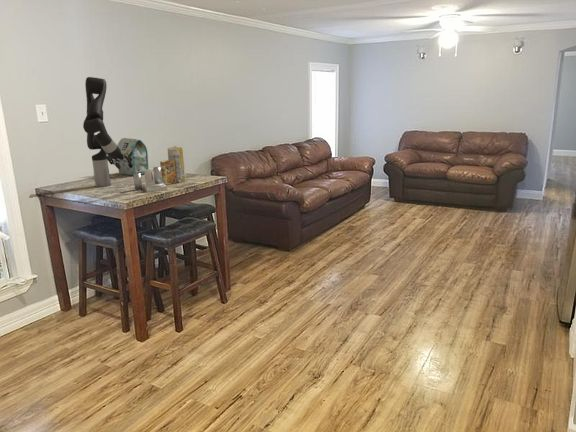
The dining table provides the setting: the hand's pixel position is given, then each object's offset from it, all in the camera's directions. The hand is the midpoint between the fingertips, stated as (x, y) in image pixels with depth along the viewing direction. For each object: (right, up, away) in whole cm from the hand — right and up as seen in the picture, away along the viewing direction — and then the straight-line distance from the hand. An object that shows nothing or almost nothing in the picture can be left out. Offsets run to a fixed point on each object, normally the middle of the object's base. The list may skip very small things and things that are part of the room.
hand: (125, 167), depth 267 cm
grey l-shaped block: (+13, -12, +13) cm, 22 cm away
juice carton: (+23, -6, +36) cm, 43 cm away
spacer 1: (+4, -12, +12) cm, 18 cm away
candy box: (+19, -8, +28) cm, 35 cm away
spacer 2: (+16, -8, +13) cm, 22 cm away
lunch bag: (-20, +3, +72) cm, 74 cm away
